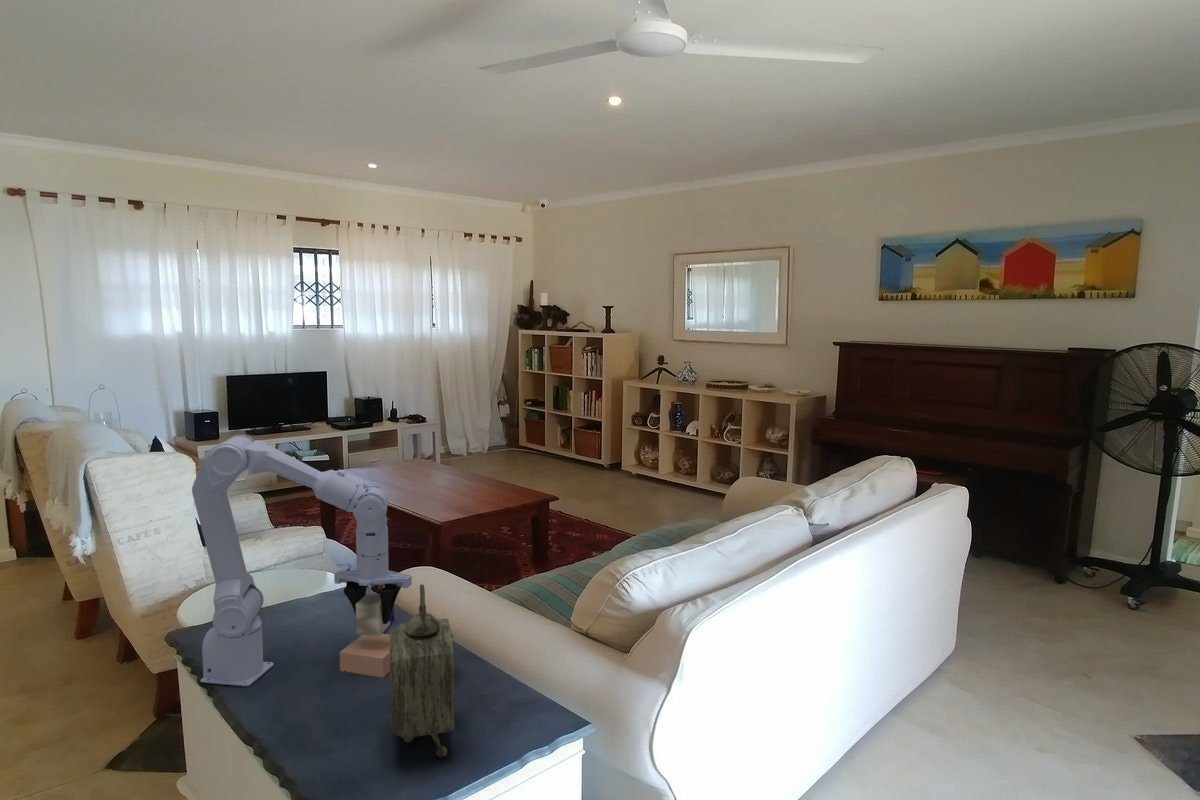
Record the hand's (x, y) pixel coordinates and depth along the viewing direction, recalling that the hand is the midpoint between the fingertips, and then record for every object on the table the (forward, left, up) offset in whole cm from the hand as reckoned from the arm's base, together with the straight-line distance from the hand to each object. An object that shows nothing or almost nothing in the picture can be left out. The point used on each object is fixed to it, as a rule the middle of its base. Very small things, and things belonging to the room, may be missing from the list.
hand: (373, 620), depth 131 cm
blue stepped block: (-6, +12, -9) cm, 16 cm away
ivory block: (0, 0, -2) cm, 2 cm away
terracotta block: (0, 0, -9) cm, 9 cm away
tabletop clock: (+18, -22, -9) cm, 30 cm away
